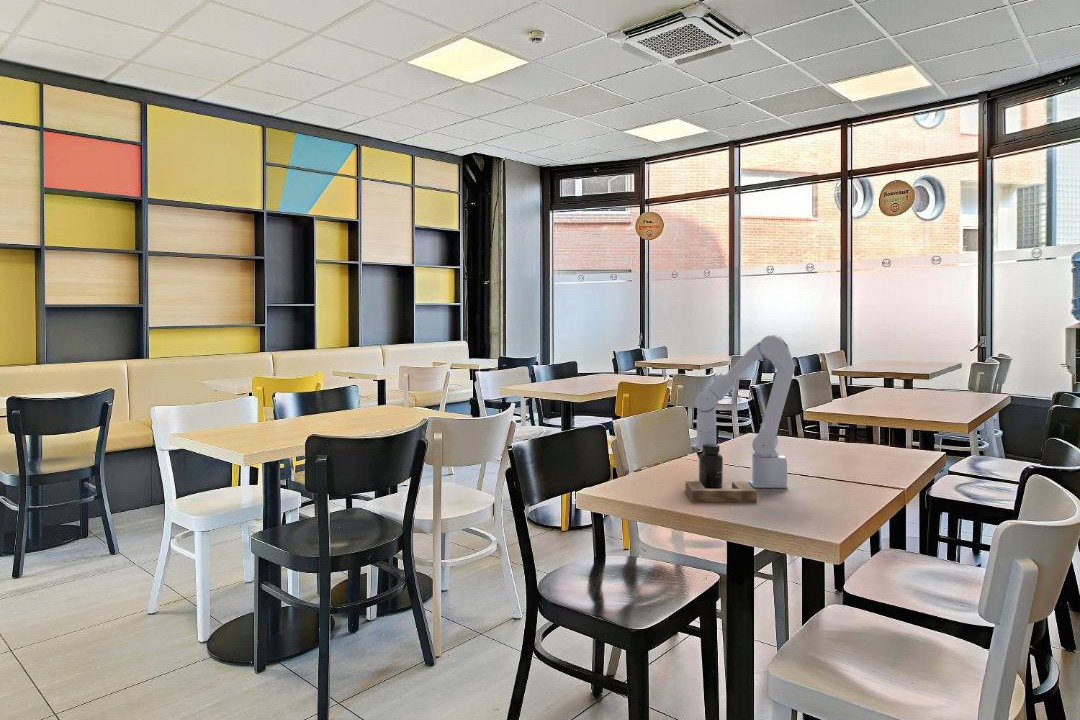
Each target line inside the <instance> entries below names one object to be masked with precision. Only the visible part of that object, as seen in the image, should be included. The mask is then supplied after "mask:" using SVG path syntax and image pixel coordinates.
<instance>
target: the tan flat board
mask: <svg viewBox="0 0 1080 720" xmlns="http://www.w3.org/2000/svg"><path fill="white" fill-rule="evenodd" d="M685 493H686V495H687V497H688V498H689V499H690V501H691V503H758V499H757V498H758V497H757V496H758V495H757V494H758V491H757V490H756V488H755V487H754V486H752V485H751V484H750V483H749V482H748V481H739V480H738V481H735V480H734V481H731V488H706V487H704V486H703V485H702V484H701V482H700V481H699V480H698V481H697V480H695V481H693V480H690V481H689V480H687V481H686V480H685Z"/></svg>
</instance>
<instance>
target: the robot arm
mask: <svg viewBox="0 0 1080 720" xmlns="http://www.w3.org/2000/svg"><path fill="white" fill-rule="evenodd" d="M765 358H767V360H769V361H770V362H771V364H772V365H773V366H774V368H775V370H776V373H775V377H774V380H773V384H772V388H771V391H770V394H769V398H768V402H767V405H766V408H765V412H764V416H763V419H762V423H761V425H760V429H759V432H758V433H757V435H756V436H755V437H754V439H753V440H752V450H753V452H752V470H751V471H752V473H751V474H752V475H751V476H752V478H751V479H752V480H749V479H748V481H747V483H748V484H750V485H751V486H752V487H753V488H754V489H759V488H761V489H763V488H764V489H767V488H768V489H769V488H770V489H777V488H779V489H787V488H789V486H788V462H787V457H786V456H785V455H783V454H781V455H780V454H779V453H778V452H777V450H776V448H777V447H778V445H779V439H778V431H779V430H778V429H779V426H780V422H781V417H782V416H783V411H784V409H785V408H784V407H785V404H786V400H787V397H788V395H789V391H790V388H791V387H790V386H791V383H792V380H793V376H794V372H795V370H796V364H795V362H794V360H793V359H794V358H793V356H792V354H791V351H790V348H789V345H788V344H787V343H786V341H785V340H784V339H783V338H782V337H781V336H780V335H777V334H772V335H767V336H765V337H763V338H762V339H761V340H760V341H759V342H758V343H756V344H754V345H753V346H752V347H751V348H750V349H749V350H747V351H746V353H744V355H743V356H741V358H739V360H738V361H737V362H736V363H735V364H734V365H733V366H732V367H731V368H730V369H729V370H728V372H727V371H726V372H720V373H716V375H714V377H713V378H714V379H713V380H712V381H711V382H710V383H709V384H708V385H707V386H706V385H705V386H704V387H703V390H704V391H700V392H699V393H698V394H697V396H696V397H695V407H696V408H697V410H696V413H697V415H696V444H692V448H693V449H698V450H701V451H696V452H695V454H696V456H697V458H698V459H699V456H700V455H701V454H702V453H703V451H702V449H703V445H704V444H715V445H717V411H716V409H717V408H716V407H717V406H718V404H719V401H722V400H723V399H724V398H725V397H726V396H727V395H728V394H729V393H730V392H731V391H732V390H733V389H734V388H735V387H736V380H738V378H739V377H740V376H741V375H742V374H743V373H744V372H745V371H746V370H748V368H750V366H752V365H753V364H754V363H755V362H756V361H760V360H763V359H765Z"/></svg>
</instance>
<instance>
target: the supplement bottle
mask: <svg viewBox="0 0 1080 720" xmlns="http://www.w3.org/2000/svg"><path fill="white" fill-rule="evenodd" d="M720 448H721V447H720V445H719V444H716V445H715V444H704V445H703V449H702V450H701V451H703V453H702V454H701V455H700V456H699V458H698V481H700V482H701V484H702V485H703V486H704V487H705V488H708V489H719V488H721V487H722V486H723V484H724V483H723V482H724V481H723V478H724V476H723V475H724V472H723V471H724V469H723V468H724V467H723V466H724V458H723V455H722V454H720V452H721V449H720Z"/></svg>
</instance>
